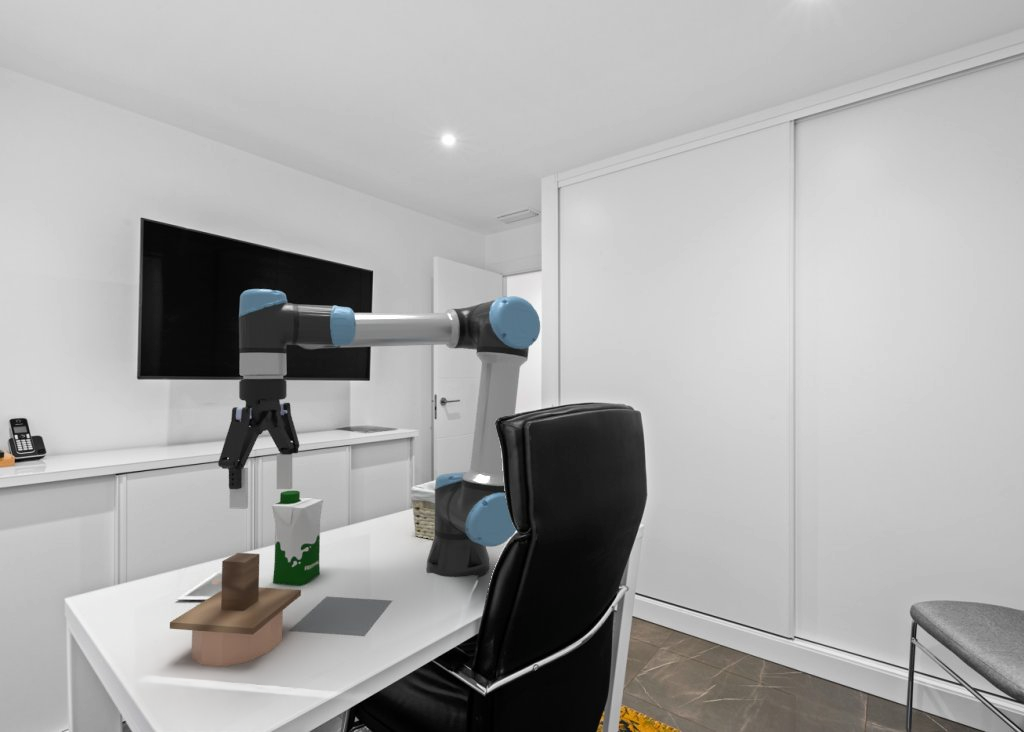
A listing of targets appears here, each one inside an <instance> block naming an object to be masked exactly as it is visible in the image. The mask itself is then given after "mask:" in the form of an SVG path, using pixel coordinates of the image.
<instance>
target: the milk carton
mask: <svg viewBox="0 0 1024 732" xmlns="http://www.w3.org/2000/svg"><path fill="white" fill-rule="evenodd" d="M300 495H301V494H300V491H299V490H286V491H282V492H281V493H280V496H279V497H280V498H279V500H280V501H279V502H276V503H275V504H272V505H271V507H272V508H271V509H272V513H273V518H274V523H275V524H274V525H275V526H274V528H275V529H274V532H275V533H274V537H275V538H274V565H273V566H274V567H273V576H272V578H273V579H272V584H277V585H285V586H287V585H288V586H295V587H302V586H305V585H306V584H308V583H309V582H311V581H313V580H314V579H316V578H317V577H318V576H319V575H320V574H321V573H320V572H321V571H320V547H321V545H320V543H321V542H320V541H321V539H320V538H321V517H322V516H321V515H322V509H323V502H324V499H316V498H313V497H312V498H311V497H309V498H308V497H307V498H305V497H300Z"/></svg>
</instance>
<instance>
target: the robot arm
mask: <svg viewBox="0 0 1024 732" xmlns="http://www.w3.org/2000/svg"><path fill="white" fill-rule="evenodd" d="M238 313H239V314H238V335H239V338H238V342H239V347H238V348H239V375H240V376H241V377H243V379H240V380H239V381H238V383H239V385H238V390H239V391H238V392H239V393H238V394H239V395H238V397H239V400H241V401H245V406H243V407H242V406H240V407H239V406H235V407H234V406H233V408H232V410H231V419H230V420H231V421H230V423H229V427H228V430H227V434H226V437H225V440H224V444H223V446H222V450H221V453H220V457H219V460H218V463H217V464H218V467H220V468H221V469H224V470H225V469H226V470H228V489H229V509H230V510H231V509H236V510H237V509H243V510H245V509H247V508H249V467H245V466H246V463H247V462H248V459H249V457H250V455H251V452H252V450H253V449H254V445H255V444H256V441H257V439H258V438H259V436H260V435H261V434H263V433H264V432H265V431H268V434H269V435H270V437H271V438H272V441H273V443H274V445H275V446H276V448H277V450H278V452H279V454H276V489H277V490H292V489H293V454H298V453H299V448H300V441H299V438H298V433H297V431H296V428H295V423H294V421H293V416H292V411H291V403H290V402H281V400H285V399H286V398H287V389H288V388H287V387H288V386H287V380H286V378H284V376H287V373H288V372H287V345H290V346H299V347H301V349H305V350H317V349H336V348H338V349H339V348H366V347H367V348H368V347H400V346H401V347H402V346H403V347H404V346H407V347H408V346H436V345H440V346H441V345H445V346H446V347H447V348H449V349H464V350H465V349H467V350H475V351H476V354H475V355H476V356H477V357H478V359H479V360H480V361H481V371H480V379H479V387H478V388H479V389H478V396H477V404H476V405H477V406H476V413H475V414H476V416H475V422H474V423H475V424H474V432H473V440H472V441H473V443H472V450H471V457H470V458H471V461H470V468H469V470H468V471H465V472H451V473H444V474H441V475H438V476H437V477H436V479H435V480H436V484H435V489H434V491H435V536H434V540H432V543H431V547H430V550H429V552H428V556H427V558H426V572H427V574H434V575H437V576H440V577H447V578H464V577H471V576H475V577H476V576H477V578H479V577H481V576H483V575H485V574H487V573H488V572H489V571H490V556H489V553H488V550H487V547H489V548H490V547H491V548H492V547H497V546H500V545H503V544H504V543H506V542H507V541H508V540H509V539H510V538H511V537H513V536H514V535H515V533H516V531H517V530H516V529H515V528H514V526H513V524H512V521H511V518H510V515H509V511H508V507H507V502H506V498H505V491H504V482H503V471H502V458H501V448H500V443H499V439H498V435H497V431H496V427H495V421H496V419H498V418H500V417H503V416H508V415H513V414H516V406H517V397H518V388H519V378H520V370H521V366H522V365H523V364H525V363H526V362H527V361H528V357H529V351H530V350H529V349H530V348H529V347H530V346H533V344H534V343H535V342H536V341H537V340H538V338H539V335H540V332H541V320H540V317H539V314H538V312H537V310H536V309H535V307H534V306H533V305H532V303H530V302H529V301H528V300H527V299H525V298H523V297H519V296H513V295H512V296H502V297H498V298H496V299H495V300H490V301H486V302H482V303H479V304H476V305H471V306H468V307H461V308H449V309H447V310H446V311H445V312H354V310H353V309H352V308H351V307H348V306H338V305H336V304H335V305H321V304H320V305H317V304H298V303H291V302H288V299H287V295H286V293H284V292H283V291H281V290H277V289H276V290H273V289H267V288H261V289H260V288H252V289H247V290H244V291H243V292H242V293H241V294H240V296H239V312H238Z"/></svg>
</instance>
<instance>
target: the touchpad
mask: <svg viewBox="0 0 1024 732" xmlns="http://www.w3.org/2000/svg"><path fill="white" fill-rule="evenodd" d="M221 590H222V570H217V571H215V572H214V573H213V574H211V575H209V576H208V577H206V578H205V579H204V580H202V581H201V582H199V583H198V584H196V585H195V586H193V587H191V588H190V589H189V590H187V591H185V592H184V593H183V594H181V595H180V596H178V597H177V598H175V600H179V601H180V600H185V601H186V600H192V601H194V600H196V601H198V600H202V601H203V600H204V601H205V600H207V599H208V598H210V597H212V596H213V595H215V594H217V593H218V592H220V591H221Z"/></svg>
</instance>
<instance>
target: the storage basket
mask: <svg viewBox="0 0 1024 732" xmlns="http://www.w3.org/2000/svg"><path fill="white" fill-rule="evenodd" d="M435 484H436V479H433V480H431V481H428V482H425V483H421V484H418V485H413V486H412V487H411V489H410V497H411V498H410V499H411V503H412V513H413V523H414V532H415V533H414V534H415V536H416V537H417V536H418V538H421V537H423V538H424V539H426V538H428V539H427V540H431V539H433V540H434V536H435V491H434V489H435ZM423 538H422V539H423ZM433 540H432V541H433Z"/></svg>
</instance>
